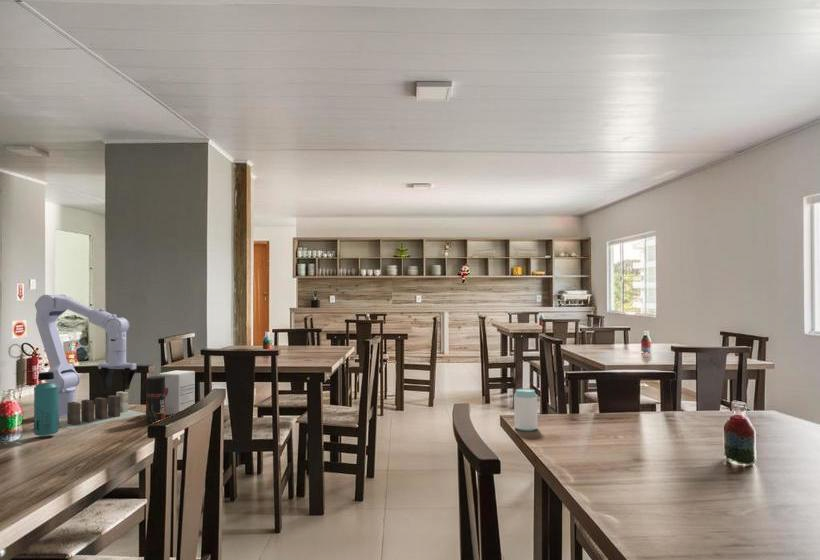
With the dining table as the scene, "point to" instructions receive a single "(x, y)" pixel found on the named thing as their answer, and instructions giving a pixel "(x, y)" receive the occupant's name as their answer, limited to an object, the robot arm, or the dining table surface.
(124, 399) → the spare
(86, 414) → the tile
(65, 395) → the robot arm
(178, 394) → the supplement box
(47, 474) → the dining table surface
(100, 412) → the tile
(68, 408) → the tile
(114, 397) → the tile
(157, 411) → the deodorant
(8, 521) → the dining table surface
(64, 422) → the mat
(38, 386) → the beverage bottle
